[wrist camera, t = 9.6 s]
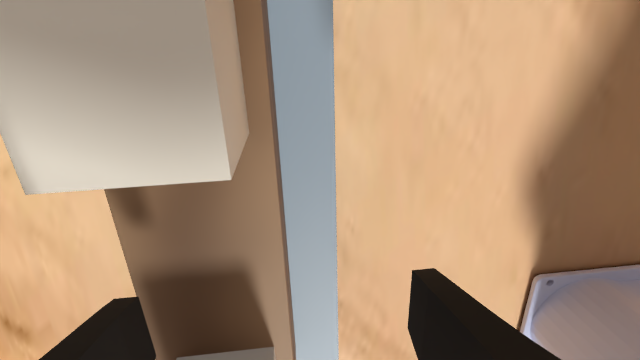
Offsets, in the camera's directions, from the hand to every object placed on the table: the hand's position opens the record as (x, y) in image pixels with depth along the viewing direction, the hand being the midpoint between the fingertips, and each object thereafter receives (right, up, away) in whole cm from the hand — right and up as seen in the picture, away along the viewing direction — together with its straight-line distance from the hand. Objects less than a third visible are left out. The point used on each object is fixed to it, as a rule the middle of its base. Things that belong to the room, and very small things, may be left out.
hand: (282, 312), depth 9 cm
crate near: (-3, +6, 0) cm, 7 cm away
